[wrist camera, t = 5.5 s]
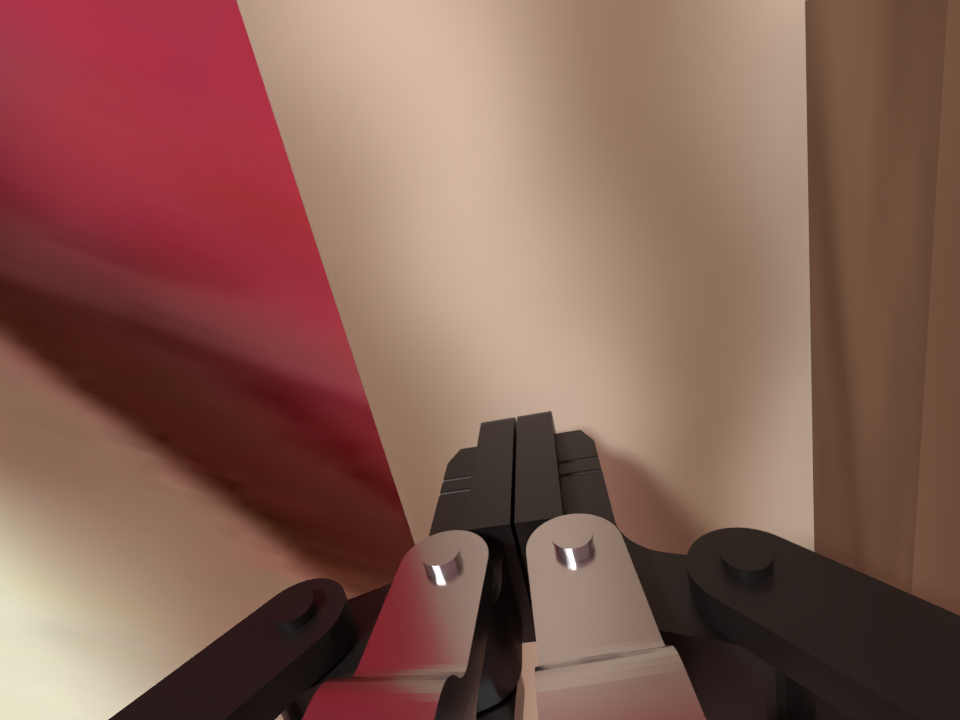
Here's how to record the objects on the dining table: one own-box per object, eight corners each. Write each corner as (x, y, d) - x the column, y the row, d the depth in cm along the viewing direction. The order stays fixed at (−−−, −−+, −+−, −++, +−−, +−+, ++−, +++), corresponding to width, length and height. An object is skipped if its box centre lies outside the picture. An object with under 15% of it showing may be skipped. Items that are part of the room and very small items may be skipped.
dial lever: (758, 786, 15) (818, 943, 12) (691, -116, 8) (793, -291, 5) (928, 777, 14) (1037, 941, 11) (1013, -217, 7) (1360, -488, 4)
